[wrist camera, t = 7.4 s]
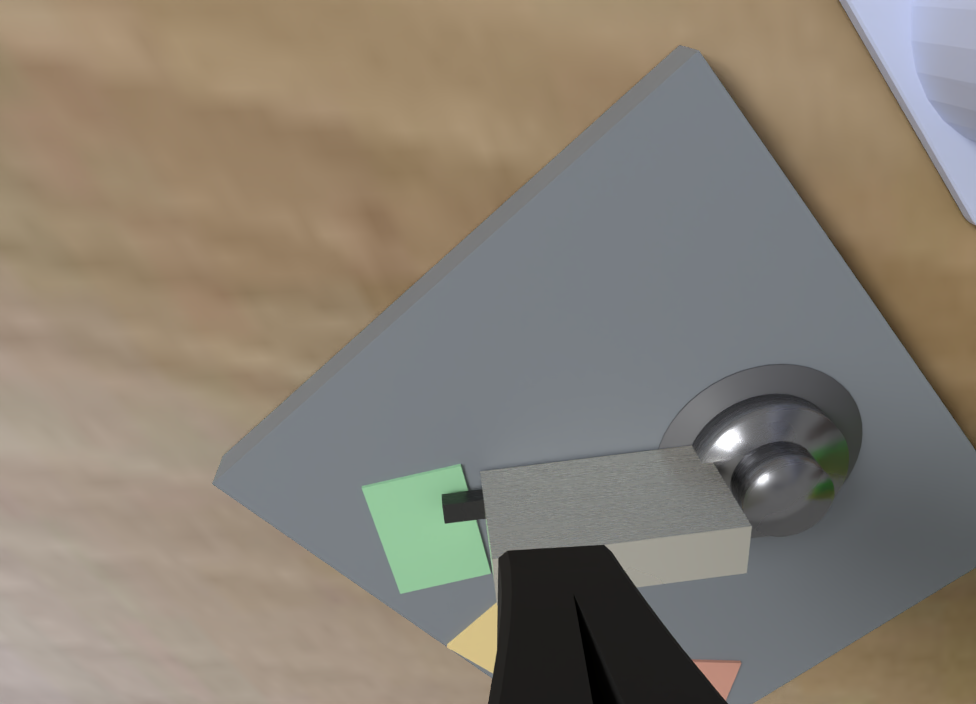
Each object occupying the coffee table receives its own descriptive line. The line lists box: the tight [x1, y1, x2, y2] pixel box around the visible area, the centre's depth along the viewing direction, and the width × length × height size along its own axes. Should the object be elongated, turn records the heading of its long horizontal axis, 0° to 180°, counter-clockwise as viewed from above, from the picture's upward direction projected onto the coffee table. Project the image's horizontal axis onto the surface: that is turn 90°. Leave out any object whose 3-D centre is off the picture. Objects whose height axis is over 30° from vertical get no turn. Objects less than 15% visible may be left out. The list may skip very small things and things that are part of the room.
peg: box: [442, 394, 849, 606], centre depth 18 cm, size 10×4×3 cm, turn 95°
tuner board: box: [212, 45, 976, 704], centre depth 21 cm, size 15×18×1 cm
